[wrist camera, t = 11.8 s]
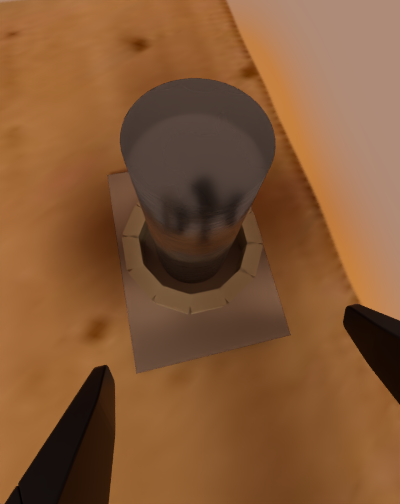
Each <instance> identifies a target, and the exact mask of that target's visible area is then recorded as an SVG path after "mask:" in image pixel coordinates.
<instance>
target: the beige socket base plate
mask: <svg viewBox="0 0 400 504" xmlns="http://www.w3.org/2000/svg"><path fill="white" fill-rule="evenodd" d="M107 176H108V183H109V190H110V196H111V203H112V210H113V217H114V224H115V230H116V237H117V244H118V251H119V258H120V265H121V271H122V278H123V285H124V292H125V299H126V306H127V312H128V319H129V326H130V333H131V340H132V346H133V353H134V360H135V367H136V374H137V373H141V372H145V371H149V370H153V369H157V368H161V367H165V366H169V365H173V364H177V363H181V362H185V361H189V360H193V359H197V358H201V357H205V356H209V355H213V354H217V353H221V352H225V351H229V350H233V349H237V348H241V347H245V346H249V345H253V344H257V343H261V342H265V341H269V340H273V339H277V338H281V337H285V336H289V335H291V334H290V331H289V328H288V325H287V321H286V318H285V315H284V312H283V308H282V305H281V302H280V299H279V295H278V292H277V289H276V286H275V282H274V279H273V276H272V273H271V269H270V266H269V263H268V260H267V256H266V253H265V250H264V247H263V240H262V237H261V234H260V231H259V227H258V224H257V221H256V218H255V214H254V213H253V211H252V207H250V209H249V211H248V213H247V215H246V217H245V219H244V221H243V223H242V225H241V228H240V230H239V232H238V234H237V236H236V238H235V240H234V242H233V244H232V246H231V248H230V250H229V252H228V254H227V256H226V258H225V260H224V262H223V264H222V266H221V268H220V270H219V271H218V272H217V273H216V274H215V275H214V276H213V277H212V278H210V279H208V280H206V281H204V282H201V283H193V284H191V283H184V282H181V281H178V280H176V279H174V278H173V277H171V276H170V275H169V274H168V273H167V272H166V271H165V269H164V268H163V266H162V264H161V262H160V259H159V256H158V253H157V250H156V248H155V245H154V242H153V239H152V237H151V234H150V231H149V228H148V225H147V223H146V220H145V217H144V214H143V211H142V209H141V206H140V203H139V200H138V197H137V195H136V192H135V189H134V186H133V184H132V181H131V178H130V175H129V172H124V173H117V174H111V175H107Z"/></svg>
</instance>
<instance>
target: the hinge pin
mask: <svg viewBox="0 0 400 504" xmlns="http://www.w3.org/2000/svg"><path fill="white" fill-rule="evenodd" d="M120 145H121V152H122V155H123V158H124V161H125V164H126V167H127V170H128V172H129V175H130V178H131V181H132V184H133V186H134V189H135V192H136V195H137V197H138V200H139V203H140V206H141V209H142V211H143V214H144V217H145V220H146V223H147V225H148V228H149V231H150V234H151V237H152V239H153V242H154V245H155V248H156V250H157V253H158V256H159V259H160V262H161V264H162V266H163V268H164V269H165V271H166V272H167V273H168V274H169V275H170V276H171V277H173V278H174V279H176V280H178V281H181V282H184V283H191V284H193V283H201V282H204V281H206V280H208V279H210V278H212V277H213V276H214V275H215V274H216V273H217V272H218V271H219V270H220V268H221V266H222V264H223V262H224V260H225V258H226V256H227V254H228V252H229V250H230V248H231V246H232V244H233V242H234V240H235V238H236V236H237V234H238V232H239V230H240V228H241V225H242V223H243V221H244V219H245V217H246V215H247V213H248V211H249V209H250V207H251V205H252V203H253V201H254V199H255V197H256V195H257V193H258V191H259V189H260V187H261V185H262V183H263V181H264V179H265V176H266V174H267V172H268V170H269V168H270V166H271V164H272V161H273V158H274V153H275V136H274V131H273V128H272V125H271V122H270V120H269V118H268V116H267V115H266V113H265V112H264V110H263V109H262V108H261V107H260V106H259V104H258V103H257V102H256V101H254V100H253V99H252V98H251V97H250V96H248V95H247V94H246V93H244V92H243V91H241V90H239V89H237V88H235V87H233V86H231V85H228V84H226V83H222V82H219V81H215V80H210V79H200V78H189V79H180V80H175V81H171V82H168V83H164V84H162V85H160V86H157V87H155V88H153V89H152V90H150V91H148V92H147V93H145V94H144V95H143V96H141V97H140V98H139V99H138V100H137V101H136V102H135V103H134V104H133V106H132V107H131V108H130V110H129V111H128V113H127V115H126V117H125V119H124V121H123V124H122V128H121V133H120Z"/></svg>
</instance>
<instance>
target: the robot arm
mask: <svg viewBox="0 0 400 504" xmlns="http://www.w3.org/2000/svg"><path fill="white" fill-rule="evenodd" d="M343 325H344V327H345V329H346V331H347V332H348V334H349V335H350V337H351V339H352V340H353V342H354V343H355V345H356V346H357V348H358V349H359V351H360V353H361V354H362V356H363V357H364V359H365V360H366V362H367V363H368V364H369V366H370V367H371V368H372V370H373V371H374V372H375V374H376V375H377V376H378V377H379V379H380V380H381V381H382V383H383V384H384V385H385V386H386V388H387V389H388V390H389V391H390V393H391V394H392V395H393V397H394V398H395V399H396V400H397V402H398V403H399V404H400V321H399V320H397V319H394V318H392V317H389V316H387V315H384V314H382V313H379V312H377V311H375V310H372V309H369V308H367V307H365V306H362V305H360V304H353V305H349V306H347V307H346V309H345V314H344V319H343ZM114 442H115V383H114V379H113V377H112V374H111V372H110V370H109V367H108V366H107V365H103V366H98V367H95V368H94V369H93V370H92V372H91V373H90V375H89V376H88V378H87V379H86V381H85V382H84V384H83V386H82V387H81V389H80V390H79V392H78V393H77V395H76V396H75V398H74V399H73V401H72V402H71V404H70V405H69V407H68V408H67V410H66V411H65V413H64V414H63V416H62V417H61V419H60V421H59V422H58V424H57V425H56V427H55V428H54V430H53V431H52V433H51V434H50V436H49V437H48V439H47V440H46V442H45V443H44V445H43V446H42V448H41V449H40V451H39V452H38V454H37V456H36V457H35V459H34V460H33V462H32V463H31V465H30V466H29V468H28V469H27V471H26V472H25V474H24V475H23V477H22V478H21V480H20V481H19V483H18V485H19V486H16V487H15V489H14V490H13V492H12V493H11V495H10V496H9V498H8V499H7V501H6V502H5V504H109V494H110V483H111V473H112V463H113V453H114Z"/></svg>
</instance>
